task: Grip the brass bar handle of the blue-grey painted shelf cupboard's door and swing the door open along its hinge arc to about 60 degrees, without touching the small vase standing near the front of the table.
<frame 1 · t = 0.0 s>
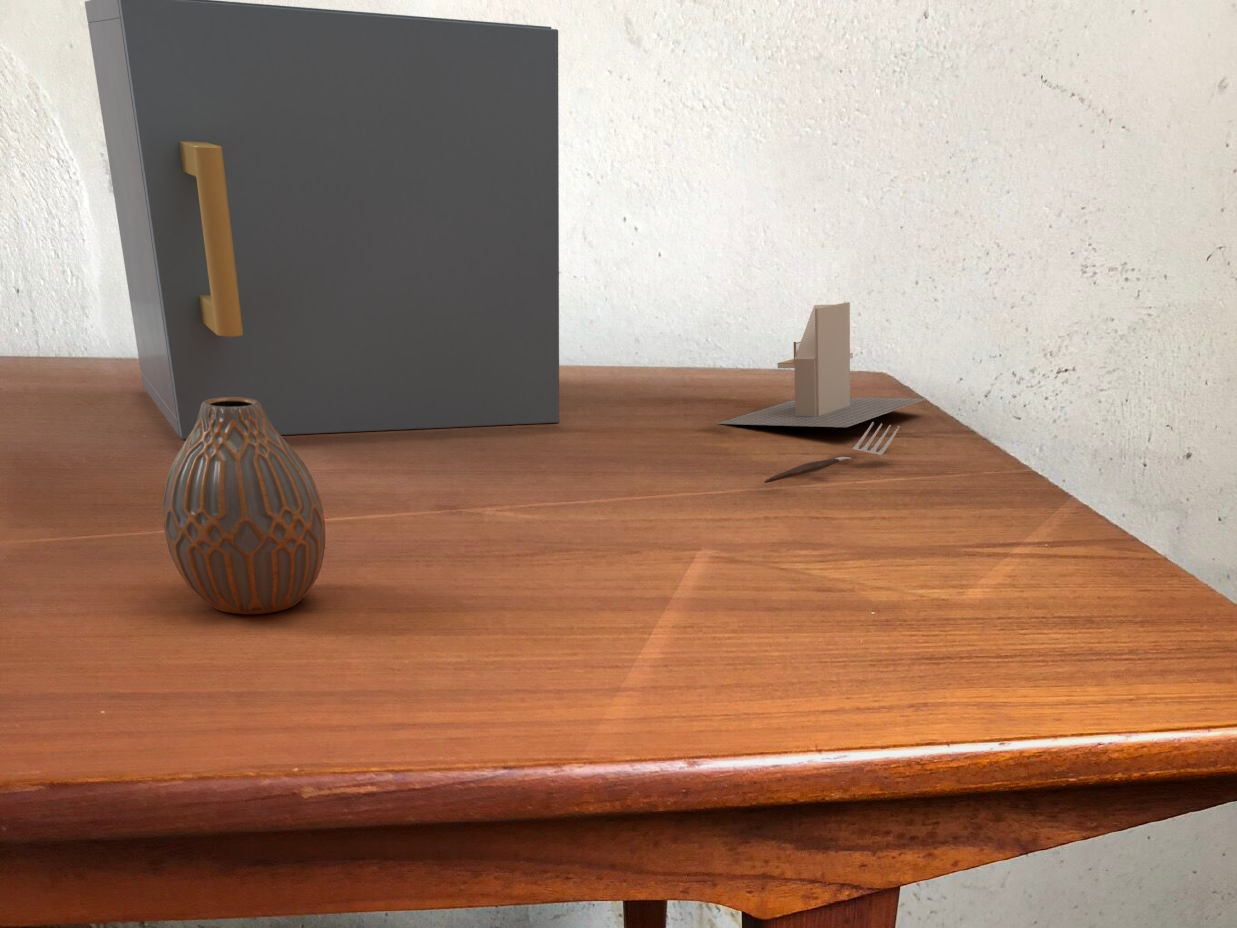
fork: (827, 473, 94), on the table
cupboard: (345, 404, 102), on the table
vase: (255, 605, 63), on the table
architectural model: (822, 413, 106), point 1 cm above the table
cupboard door: (378, 240, 87), point 12 cm above the table, hinge at 0.0°
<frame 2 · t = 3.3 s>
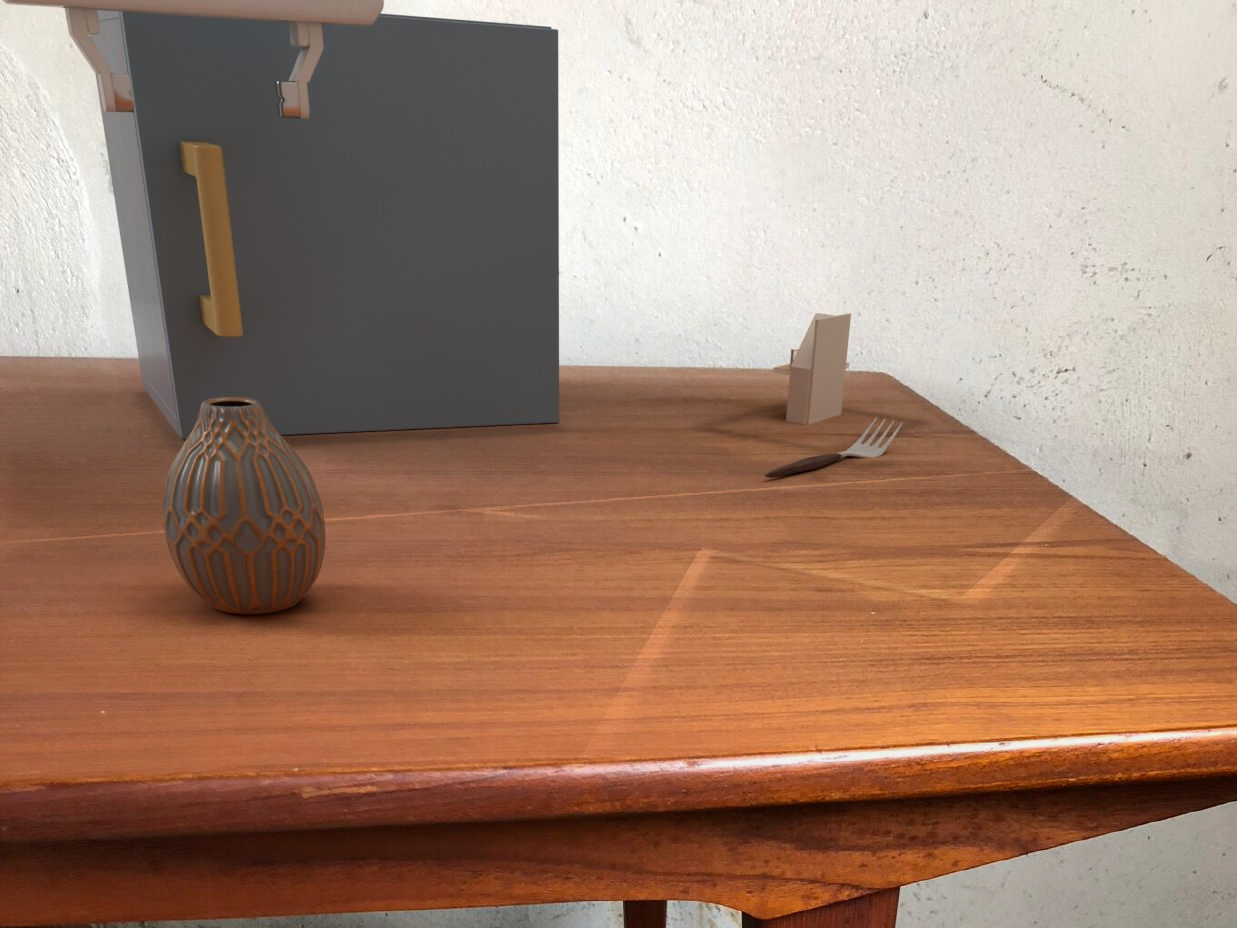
hand: (208, 115, 76), 19 cm above the table, tool pointing down, fingers open, 8 cm apart
architectural model: (813, 421, 107), on the table
everything else where it was.
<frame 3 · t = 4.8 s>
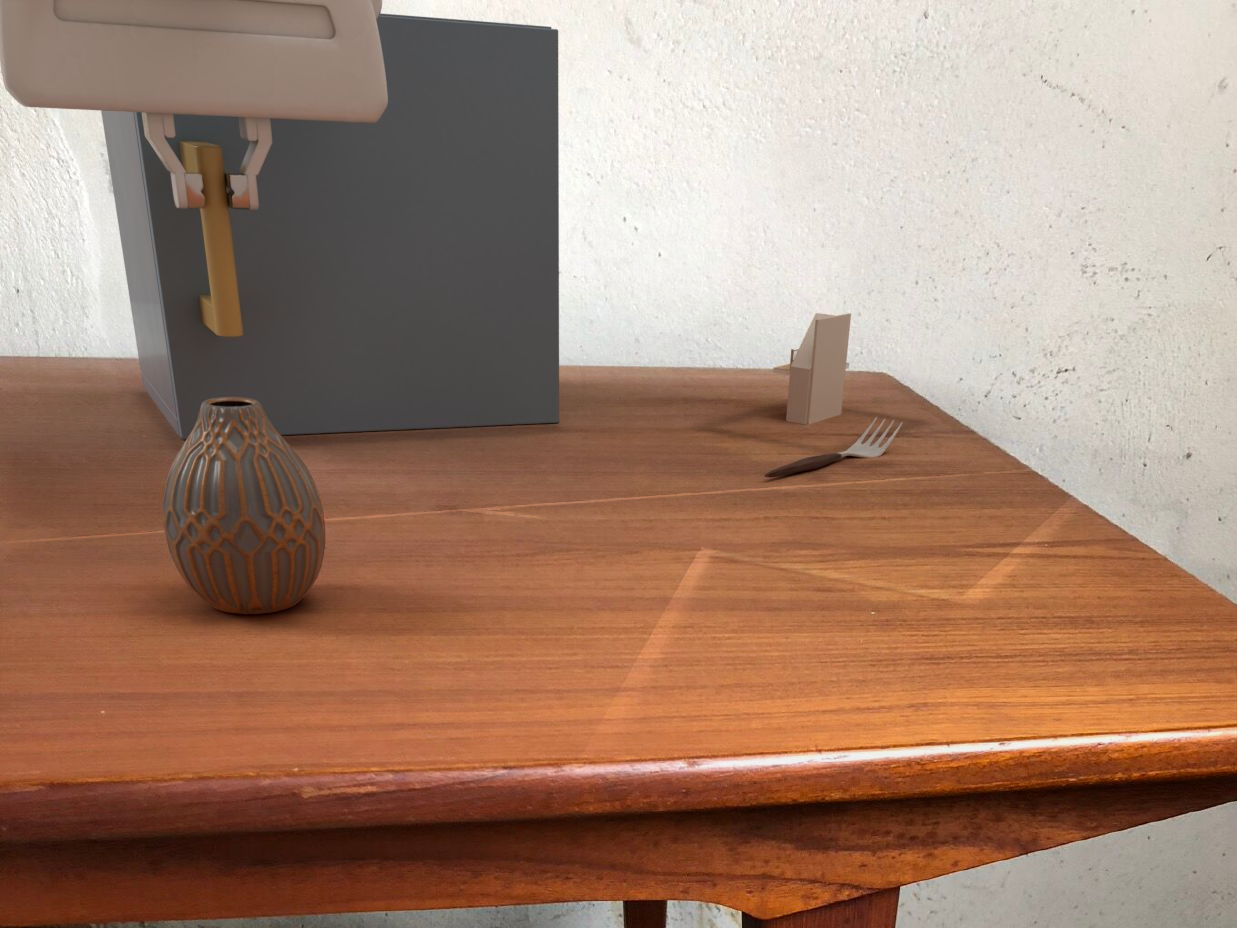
hand: (216, 208, 79), 14 cm above the table, tool pointing down, fingers closed on cupboard door, 2 cm apart
cupboard door: (378, 240, 87), point 12 cm above the table, hinge at 0.0°, touching gripper
everything else where it was.
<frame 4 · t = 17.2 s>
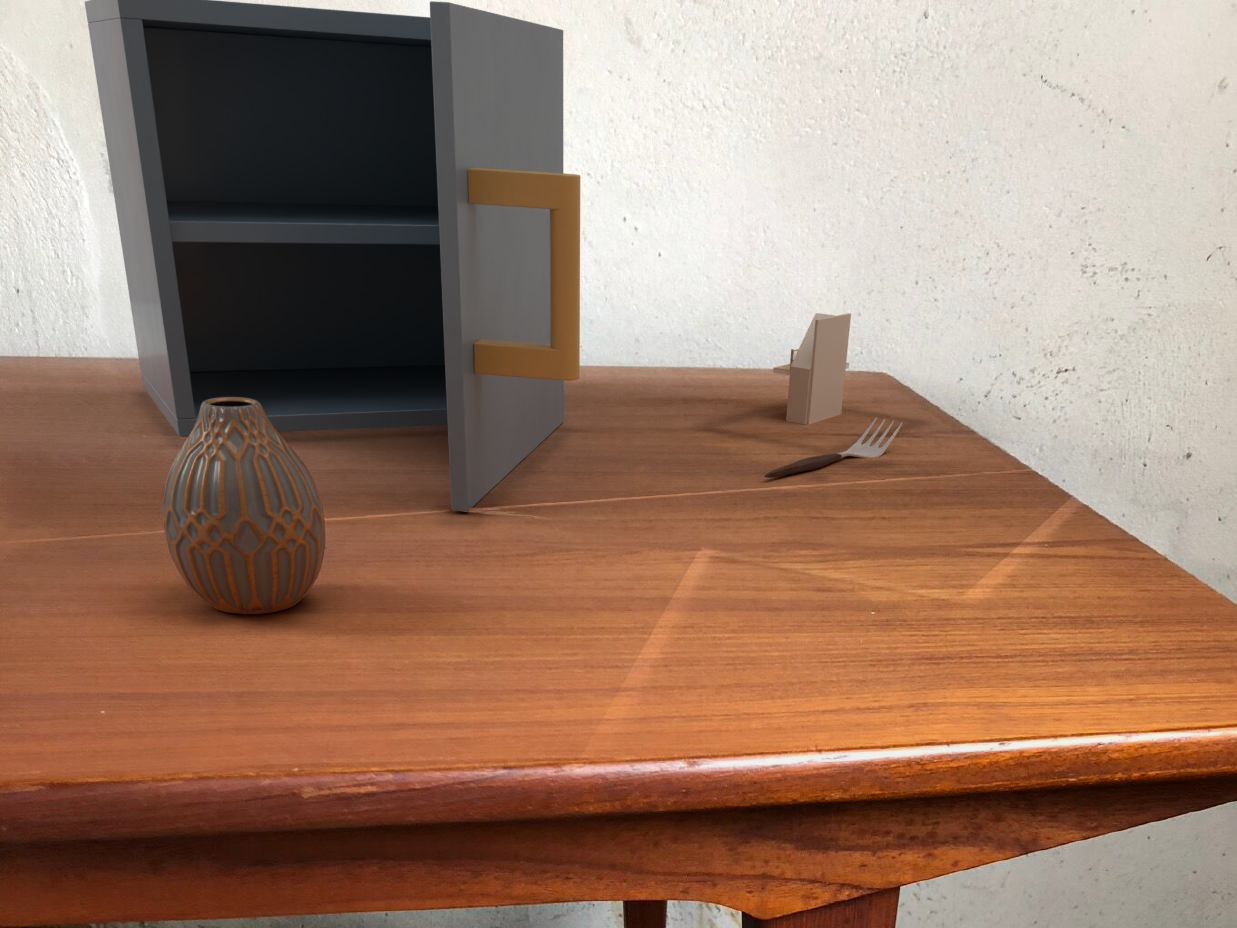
cupboard door: (557, 259, 83), point 12 cm above the table, hinge at 56.7°
everything else where it was.
at the end: cupboard door at +57° (first picture: +0°); vase moved 0.2 cm from its start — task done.
